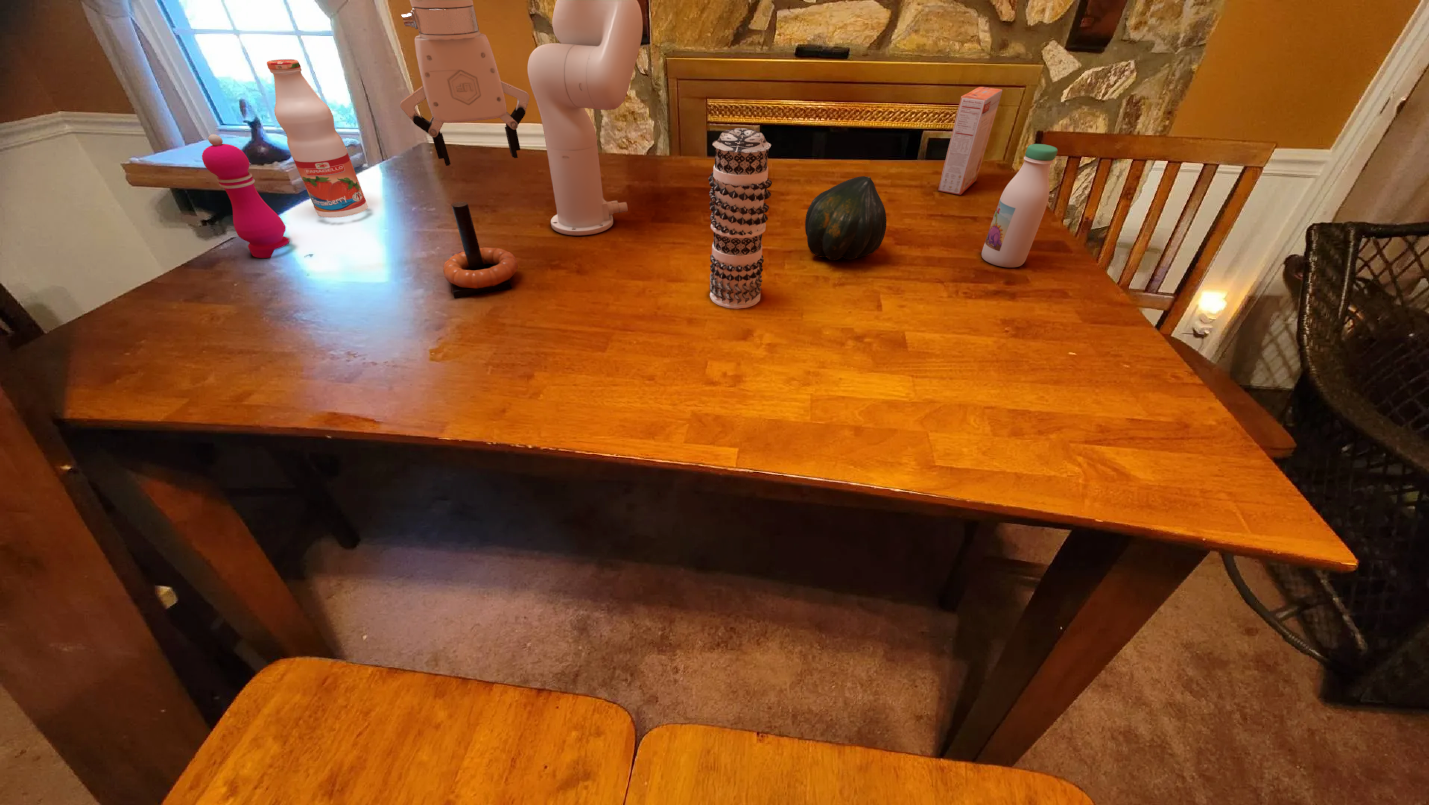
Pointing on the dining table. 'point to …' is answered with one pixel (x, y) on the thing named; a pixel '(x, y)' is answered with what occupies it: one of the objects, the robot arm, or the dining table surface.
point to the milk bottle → (1020, 209)
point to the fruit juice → (315, 143)
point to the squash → (846, 220)
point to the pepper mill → (244, 199)
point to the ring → (484, 277)
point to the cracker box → (969, 139)
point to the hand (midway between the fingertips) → (481, 159)
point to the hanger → (471, 252)
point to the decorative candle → (738, 217)
